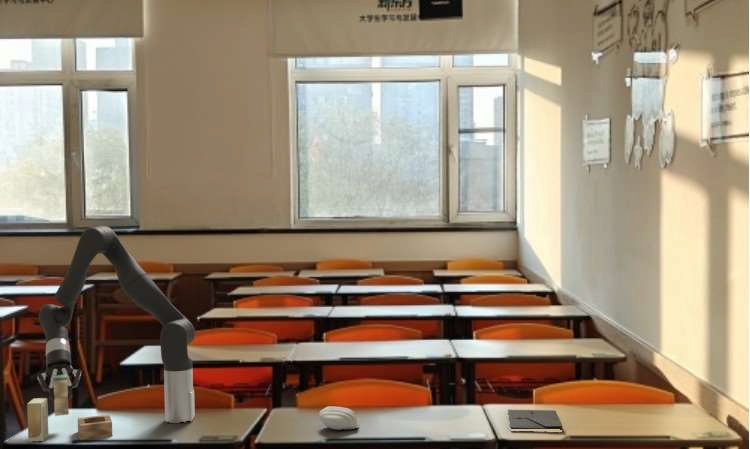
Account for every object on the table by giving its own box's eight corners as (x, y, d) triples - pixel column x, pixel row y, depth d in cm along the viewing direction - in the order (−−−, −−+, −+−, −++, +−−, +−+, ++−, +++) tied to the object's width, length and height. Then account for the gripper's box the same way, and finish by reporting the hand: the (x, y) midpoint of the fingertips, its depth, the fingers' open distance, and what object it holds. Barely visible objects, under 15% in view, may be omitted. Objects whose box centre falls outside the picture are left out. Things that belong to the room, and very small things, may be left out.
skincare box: (34, 436, 250) (33, 397, 249) (49, 436, 250) (48, 397, 250) (27, 443, 243) (26, 403, 243) (42, 442, 244) (41, 402, 243)
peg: (68, 411, 258) (66, 374, 258) (68, 414, 255) (67, 376, 254) (54, 413, 257) (52, 375, 256) (55, 416, 253) (53, 378, 253)
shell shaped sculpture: (310, 429, 253) (310, 409, 253) (338, 420, 263) (338, 401, 262) (339, 437, 244) (338, 416, 244) (367, 428, 254) (367, 408, 253)
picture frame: (562, 435, 246) (555, 416, 266) (562, 425, 245) (555, 408, 266) (510, 434, 248) (507, 415, 268) (510, 425, 247) (507, 407, 268)
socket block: (109, 428, 258) (108, 414, 258) (112, 435, 249) (112, 421, 249) (78, 431, 254) (77, 418, 254) (80, 440, 245) (79, 425, 245)
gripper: (34, 350, 259) (36, 395, 248) (81, 346, 265) (85, 390, 254) (35, 364, 264) (37, 408, 253) (80, 359, 270) (84, 402, 259)
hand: (61, 399), depth 254 cm, fingers closed on peg, 4 cm apart
